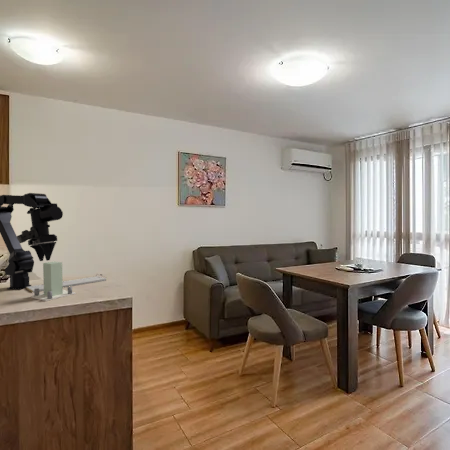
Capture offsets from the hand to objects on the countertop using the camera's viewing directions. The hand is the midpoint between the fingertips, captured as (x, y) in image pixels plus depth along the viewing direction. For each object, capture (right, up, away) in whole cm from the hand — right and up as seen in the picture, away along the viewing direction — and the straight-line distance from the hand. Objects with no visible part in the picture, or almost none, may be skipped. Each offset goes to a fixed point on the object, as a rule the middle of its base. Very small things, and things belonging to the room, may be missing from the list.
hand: (44, 260), depth 125 cm
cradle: (+7, -13, -6) cm, 16 cm away
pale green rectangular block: (+7, -13, -6) cm, 16 cm away
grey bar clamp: (+2, -13, +14) cm, 19 cm away
